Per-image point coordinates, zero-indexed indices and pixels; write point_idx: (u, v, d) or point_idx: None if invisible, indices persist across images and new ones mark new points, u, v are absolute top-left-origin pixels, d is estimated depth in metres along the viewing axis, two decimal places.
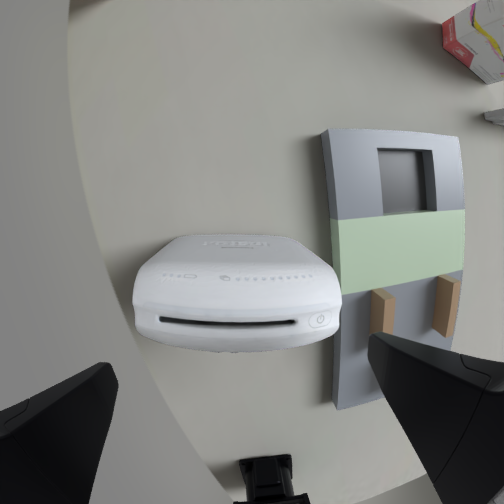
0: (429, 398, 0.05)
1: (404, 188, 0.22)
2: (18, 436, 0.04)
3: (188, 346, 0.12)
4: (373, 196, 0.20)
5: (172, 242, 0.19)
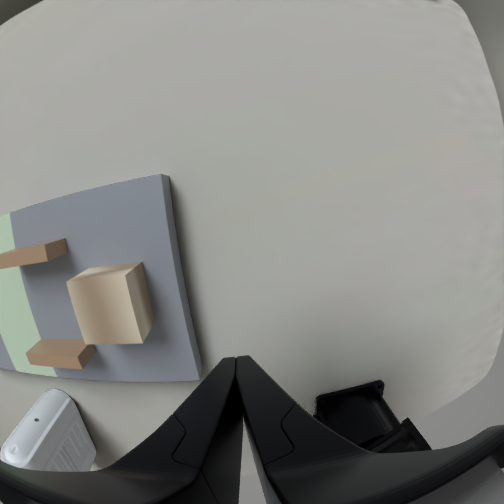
0: (251, 444, 0.05)
1: None
2: (198, 468, 0.04)
3: None
4: None
5: None
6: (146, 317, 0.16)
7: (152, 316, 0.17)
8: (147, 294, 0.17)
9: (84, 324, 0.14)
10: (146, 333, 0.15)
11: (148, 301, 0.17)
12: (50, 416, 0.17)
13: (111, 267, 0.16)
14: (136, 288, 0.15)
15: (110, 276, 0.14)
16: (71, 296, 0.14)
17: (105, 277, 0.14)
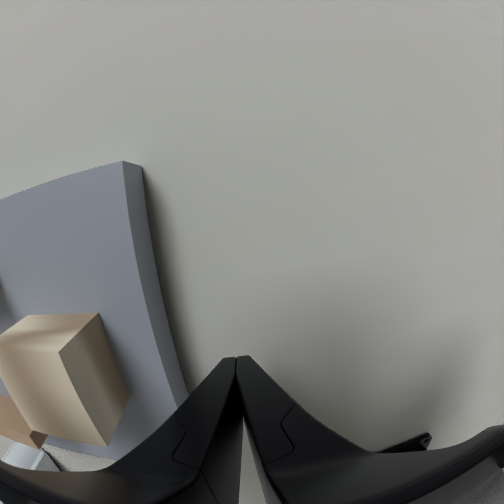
0: (251, 444, 0.05)
1: None
2: (198, 468, 0.04)
3: None
4: None
5: None
6: (110, 402, 0.08)
7: (123, 394, 0.09)
8: (111, 363, 0.09)
9: (23, 407, 0.07)
10: (113, 427, 0.08)
11: (114, 373, 0.09)
12: None
13: (52, 320, 0.08)
14: (87, 364, 0.07)
15: (38, 349, 0.06)
16: None
17: (31, 350, 0.06)
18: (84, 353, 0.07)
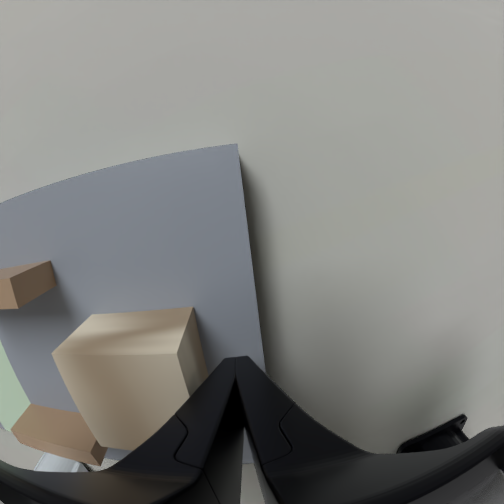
0: (250, 444, 0.05)
1: None
2: (200, 468, 0.04)
3: None
4: None
5: None
6: None
7: None
8: (203, 362, 0.09)
9: (95, 422, 0.07)
10: None
11: (205, 371, 0.09)
12: None
13: (135, 318, 0.09)
14: (192, 364, 0.08)
15: (142, 352, 0.06)
16: (64, 379, 0.06)
17: (131, 354, 0.06)
18: (190, 352, 0.08)
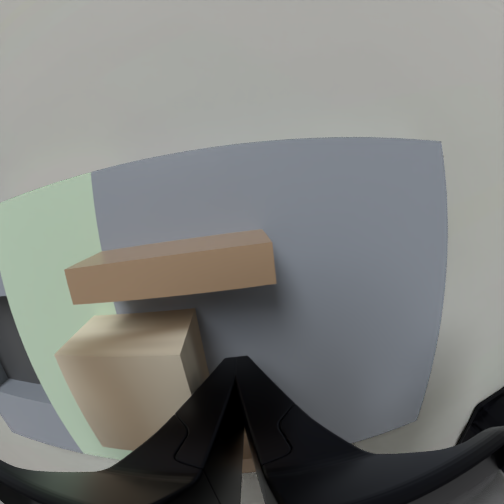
0: (249, 444, 0.05)
1: (17, 333, 0.11)
2: (200, 468, 0.04)
3: None
4: (38, 411, 0.10)
5: None
6: None
7: None
8: (205, 363, 0.09)
9: (98, 423, 0.07)
10: None
11: (207, 372, 0.09)
12: None
13: (137, 320, 0.09)
14: (194, 365, 0.08)
15: (145, 354, 0.06)
16: (67, 380, 0.06)
17: (134, 356, 0.06)
18: (192, 353, 0.08)
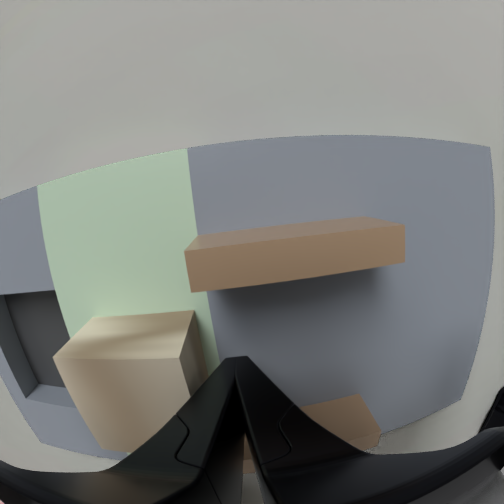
0: (249, 444, 0.05)
1: (57, 333, 0.11)
2: (201, 468, 0.04)
3: None
4: (82, 419, 0.10)
5: None
6: None
7: None
8: (204, 364, 0.09)
9: (97, 425, 0.07)
10: None
11: (206, 374, 0.09)
12: None
13: (136, 322, 0.09)
14: (194, 368, 0.08)
15: (144, 357, 0.06)
16: (66, 382, 0.06)
17: (133, 359, 0.06)
18: (191, 356, 0.08)
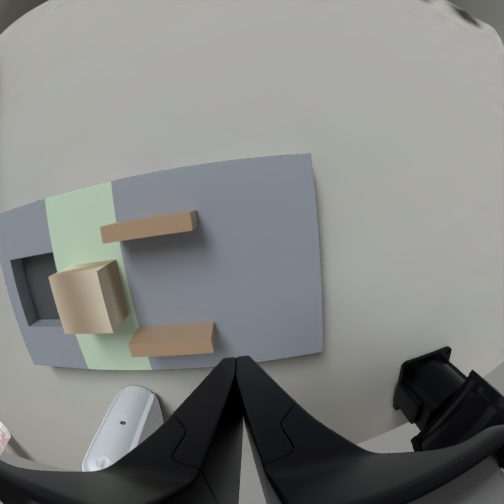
0: (251, 444, 0.05)
1: None
2: (197, 468, 0.04)
3: None
4: (61, 335, 0.18)
5: None
6: (118, 310, 0.17)
7: (125, 309, 0.18)
8: (120, 289, 0.18)
9: (64, 315, 0.15)
10: (117, 324, 0.16)
11: (121, 295, 0.18)
12: (137, 416, 0.18)
13: (88, 264, 0.17)
14: (108, 283, 0.16)
15: (84, 272, 0.15)
16: (52, 290, 0.15)
17: (80, 273, 0.15)
18: (107, 277, 0.16)
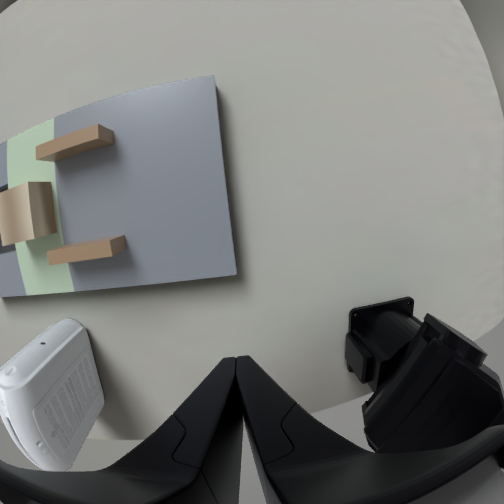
0: (251, 444, 0.05)
1: None
2: (198, 468, 0.04)
3: (46, 463, 0.11)
4: (8, 262, 0.18)
5: None
6: (44, 222, 0.16)
7: (53, 226, 0.18)
8: (51, 207, 0.17)
9: (3, 228, 0.15)
10: (41, 234, 0.16)
11: (51, 213, 0.17)
12: (59, 341, 0.18)
13: None
14: (38, 196, 0.16)
15: (20, 184, 0.14)
16: None
17: None
18: (38, 191, 0.16)
